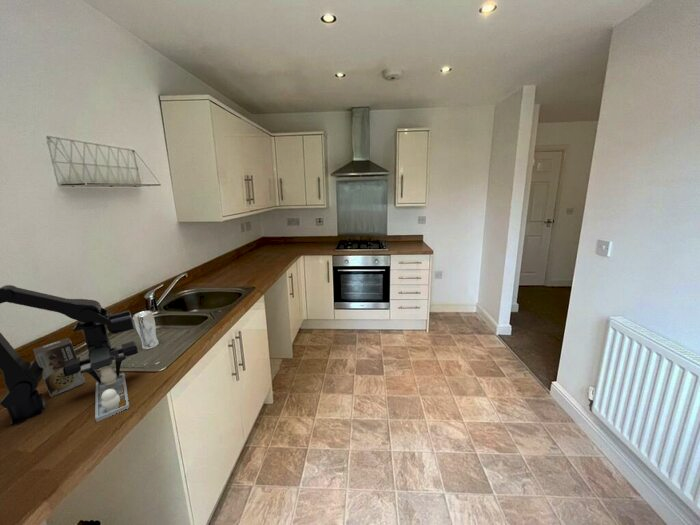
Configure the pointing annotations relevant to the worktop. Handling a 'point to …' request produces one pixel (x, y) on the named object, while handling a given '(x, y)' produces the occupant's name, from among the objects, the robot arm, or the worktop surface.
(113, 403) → the white drawer knob
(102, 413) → the gray divided compartment tray
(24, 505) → the worktop surface
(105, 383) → the cream stacked ball figurine
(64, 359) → the coffee box
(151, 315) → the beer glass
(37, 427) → the worktop surface
